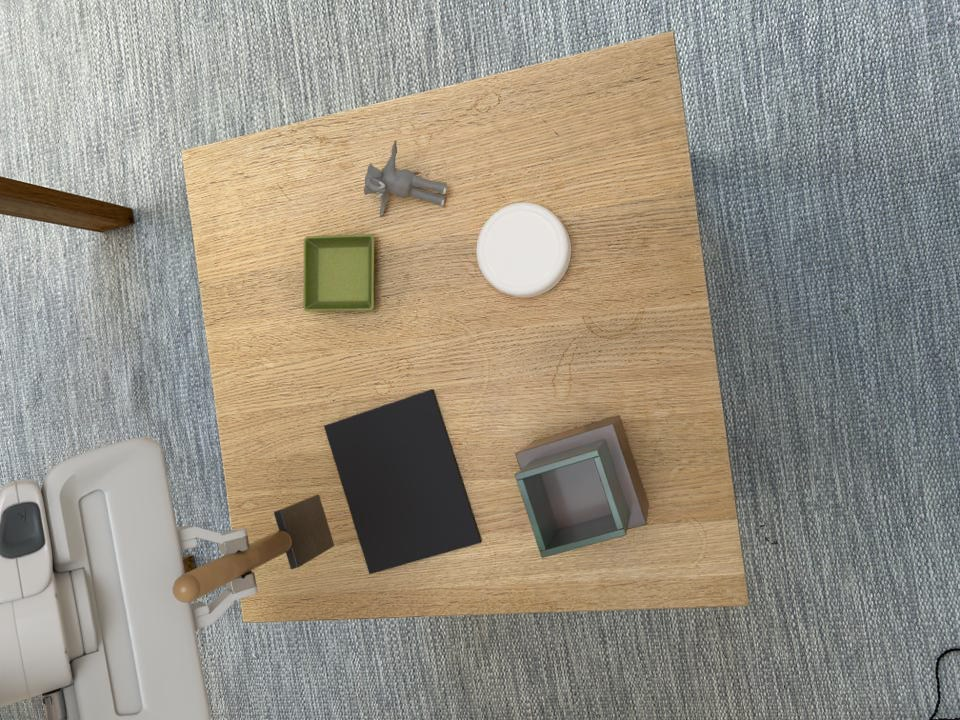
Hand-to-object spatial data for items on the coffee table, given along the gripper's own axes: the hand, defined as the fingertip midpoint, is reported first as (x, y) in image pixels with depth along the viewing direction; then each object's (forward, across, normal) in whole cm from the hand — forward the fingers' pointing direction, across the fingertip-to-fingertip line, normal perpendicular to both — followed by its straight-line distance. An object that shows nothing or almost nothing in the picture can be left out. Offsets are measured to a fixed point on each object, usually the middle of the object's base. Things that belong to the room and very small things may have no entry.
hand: (250, 559), depth 55 cm
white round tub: (+38, +22, +11) cm, 45 cm away
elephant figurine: (+30, +33, +19) cm, 48 cm away
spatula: (+9, 0, +10) cm, 13 cm away
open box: (+39, -2, +10) cm, 40 cm away
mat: (+24, 0, +25) cm, 34 cm away
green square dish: (+22, +25, +26) cm, 43 cm away
